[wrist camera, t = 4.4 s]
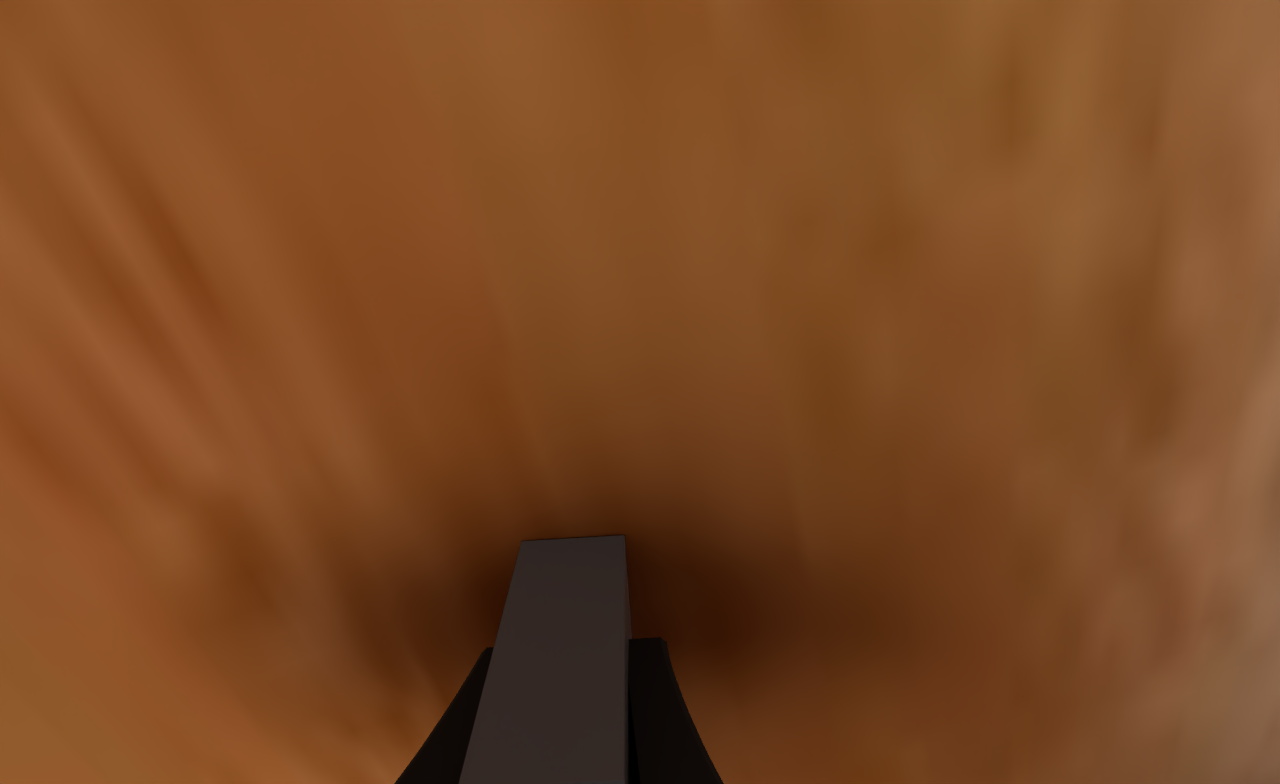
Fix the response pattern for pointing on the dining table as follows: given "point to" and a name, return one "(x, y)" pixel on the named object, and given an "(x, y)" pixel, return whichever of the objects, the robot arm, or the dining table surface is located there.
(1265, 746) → the dining table surface
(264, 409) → the dining table surface
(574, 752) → the scraper
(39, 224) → the dining table surface
